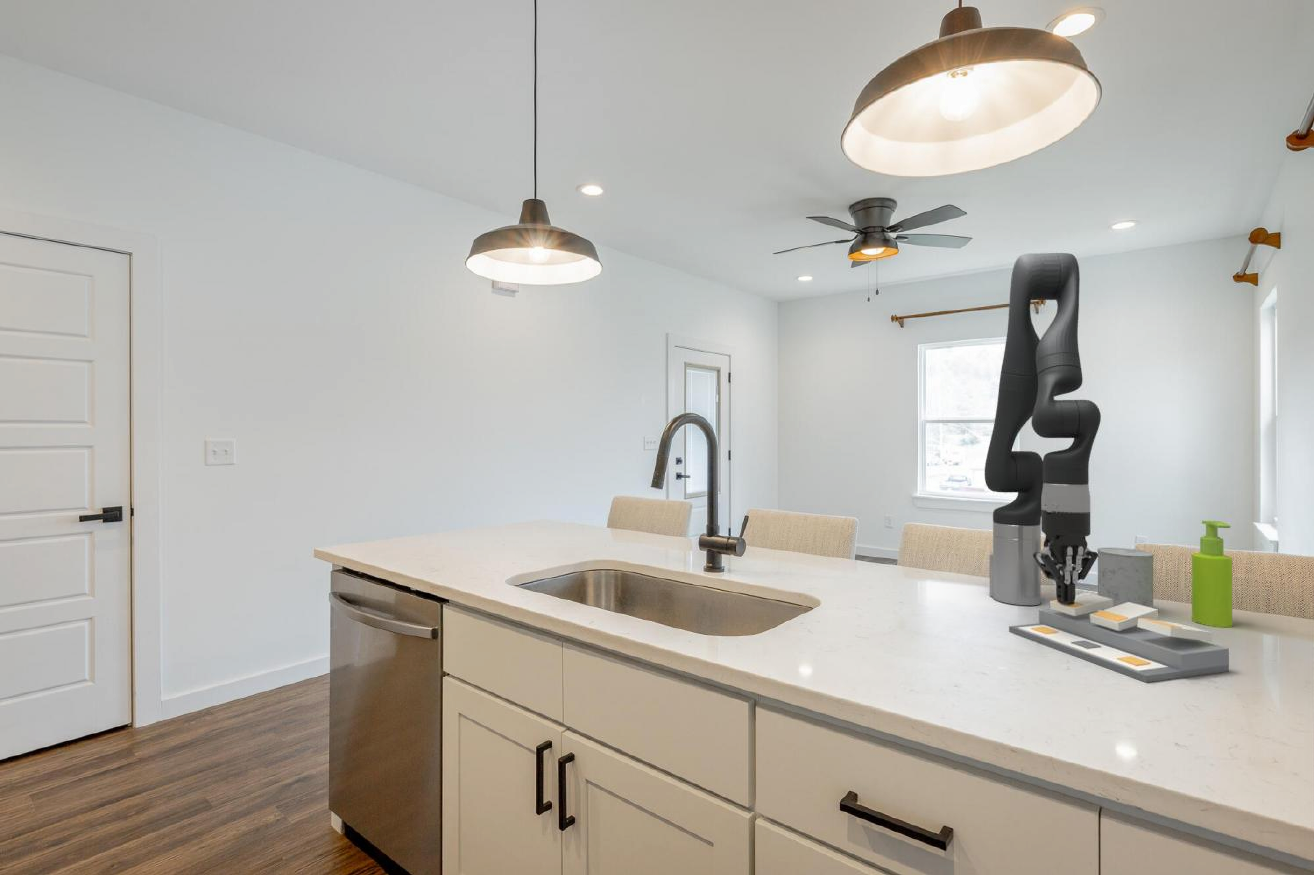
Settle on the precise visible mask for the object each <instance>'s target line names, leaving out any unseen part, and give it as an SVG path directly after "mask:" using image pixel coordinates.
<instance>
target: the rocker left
mask: <svg viewBox="0 0 1314 875" xmlns="http://www.w3.org/2000/svg"><path fill="white" fill-rule="evenodd" d="M1049 606H1050V608H1049V609H1053V610H1056V611H1060V612H1063V613H1066V614H1070V615H1073V616H1077V615H1082V614H1086V613H1090V612H1094V611H1098V612H1099V611H1102V609H1106V608H1110V607H1113V599H1110V598H1106V597H1102V596H1099V595H1098V594H1094V593H1090V592H1084V593H1079V594H1075V601H1074V604H1068V605H1066V604H1062V603H1059V602H1058V601H1057V599H1054V600H1050V601H1049Z"/></svg>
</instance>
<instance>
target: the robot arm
mask: <svg viewBox="0 0 1314 875" xmlns="http://www.w3.org/2000/svg"><path fill="white" fill-rule="evenodd" d="M1010 278H1011V280H1010V290H1009V302H1008V304H1009V305H1008V318H1007V319H1008V323H1007V331H1006V332H1007V333H1006V339H1005V344H1004V345H1005V346H1004V353H1003V358H1002V364H1001V369H1000V370H1001V371H1000V375H999V376H1000V377H999V383H998V384H999V385H998V393H997V404H996V410H995V418H994V422H993V429H992V433H991V437H990V441H989V446H988V451H987V455H986V459H985V463H984V464H985V465H984V481H985V484H986V487H987V488H988V490H990V491H991V492H994V493H995V492H996V493H1017V496H1016V497H1015V499H1014V500H1012V501H1011V502H1010V503H1007V504H1005V505H1002V506H1000V507H997V508H994V510H993V511H992V553H991V554H989V597H992V598H993V599H994V600H996V601H998V602H1001V603H1005V604H1010V605H1017V606H1018V605H1019V606H1036V605H1037V606H1038V605H1040V604H1041V602H1042V601H1041V600H1042V596H1041V595H1042V593H1041V592H1042V589H1041V588H1042V573H1043V574H1044V576H1045V578H1046V579H1048V580H1052V581H1054V582H1055V585H1056V586H1055V591H1056V594H1055V597H1056V600H1057V601H1058V602H1059V603H1062V604H1066V605H1068V604H1074V601H1075V595H1076V585H1077V584H1078V581H1080V580H1082V581H1084V580H1085V579H1086V577H1087V576H1088V574H1089V572H1090V571H1091V568H1093V565H1094V564H1095V562H1096V561H1097V560H1098V551H1092V550H1091V549H1089V547H1088V542H1087V538H1086V537H1089V536H1090V535H1091V494H1090V492H1091V491H1090V488H1089V486H1090V485H1089V480H1090V479H1089V478H1090V477H1089V472H1090V470H1089V467H1090V466H1089V462H1090V457H1091V454H1092V450H1093V446H1094V443H1095V440H1096V438H1097V437H1096V436H1097V434H1098V431H1099V428H1100V424H1101V419H1102V418H1101V417H1102V414H1101V411H1100V408H1099V407H1098V405H1097V404H1096V403H1095V402H1094V401H1092V400H1088V399H1061V400H1060V399H1055V397H1058V396H1061V395H1066V394H1070V393H1072V392H1076V391H1077V390H1079V389H1080V388H1081V387H1082V385H1083V378H1084V377H1083V372H1082V366H1081V364H1082V363H1081V358H1080V351H1079V340H1078V337H1079V336H1078V335H1079V334H1078V333H1079V331H1078V330H1079V329H1078V328H1079V315H1080V314H1079V312H1080V281H1081V280H1080V266H1079V262H1078V259H1077V257H1076V256H1075V255H1074V254H1073V253H1070V252H1069V253H1068V252H1041V253H1034V252H1033V253H1023V254H1020V255H1019V256H1017V259H1016V260H1015V262H1014V263H1013V268H1012V272H1011V277H1010ZM1032 301H1056V306H1057V308H1056V309H1057V310H1056V313H1055V316H1054V318H1053V320H1052V322H1051V323H1050V324H1049V326H1048V327H1047V329H1046V331H1045V332H1044V333H1043V335H1042V336H1041V338H1040V337H1039V336H1038V334H1037V332H1036V330H1035V327H1034V325H1033V322H1032V320H1033V319H1032V315H1031V303H1032ZM1030 419H1031V427H1032V430H1033V431H1034V433H1035V434H1037V436H1039V437H1041V438H1043V439H1044V438H1045V439H1073V441H1072V443H1071V444H1070V445H1069V447H1067V448H1065V449H1062V450H1061V449H1060V450H1054V451H1050V452H1047V453H1045V454H1044V456H1043V459H1042V457H1041V455H1040V454H1039V453H1038V452H1036V451H1033V450H1032V451H1028V450H1015V451H1014V450H1013V448H1014V444H1015V441H1016V439H1017V436H1018V435H1019V433H1020V431H1021V430H1022V429H1023V427H1024V426H1025V424H1026V423H1027V422H1028V421H1029V420H1030ZM1041 532H1042V533H1043V534H1044V535H1045V539H1044V541H1043V548H1042V537H1041V536H1042V534H1041Z"/></svg>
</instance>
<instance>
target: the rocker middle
mask: <svg viewBox="0 0 1314 875" xmlns="http://www.w3.org/2000/svg"><path fill="white" fill-rule="evenodd" d="M1138 618H1140V619H1142V618H1146V619H1153V620H1156V619H1158V618H1160V617H1159V610H1158V608H1154V607H1153V608H1150V607H1146V606H1142V605H1138V604H1134V603H1130V602H1127V603H1124V604H1121V605H1118V606H1115V607H1112V608H1108V609H1105V610H1098V612H1096V613H1093V614H1090V620H1091V623H1095V624H1098V625H1101V626H1104V627H1108V628H1111V629H1114V630H1118V631H1120V630H1123V629H1126V628H1129V627H1132V626H1135V625H1138Z"/></svg>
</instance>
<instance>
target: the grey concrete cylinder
mask: <svg viewBox="0 0 1314 875" xmlns="http://www.w3.org/2000/svg"><path fill="white" fill-rule="evenodd" d="M1096 550H1097V551H1096V552H1097V554H1098V557H1097V595H1099V596H1102V597H1106V598H1110V599H1113V607H1115V606H1118V605H1121V604H1124V603H1127V602H1130V603H1134V604H1138V605H1142V606H1146V607H1150V608H1154V556H1155V554H1154V553H1153V552H1151V551H1147V550H1141V549H1134V548H1125V547H1098V548H1097V549H1096ZM1110 608H1112V607H1110ZM1106 609H1108V608H1106ZM1103 610H1105V609H1103Z"/></svg>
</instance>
